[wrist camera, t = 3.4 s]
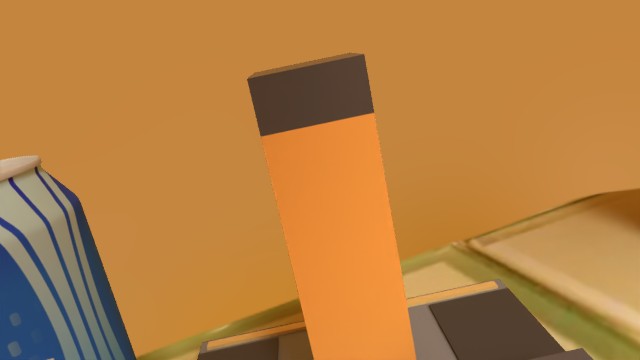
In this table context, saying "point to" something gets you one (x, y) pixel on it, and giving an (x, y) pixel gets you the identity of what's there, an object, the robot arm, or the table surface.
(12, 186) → the beer can
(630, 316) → the table surface
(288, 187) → the orange lever
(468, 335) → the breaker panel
